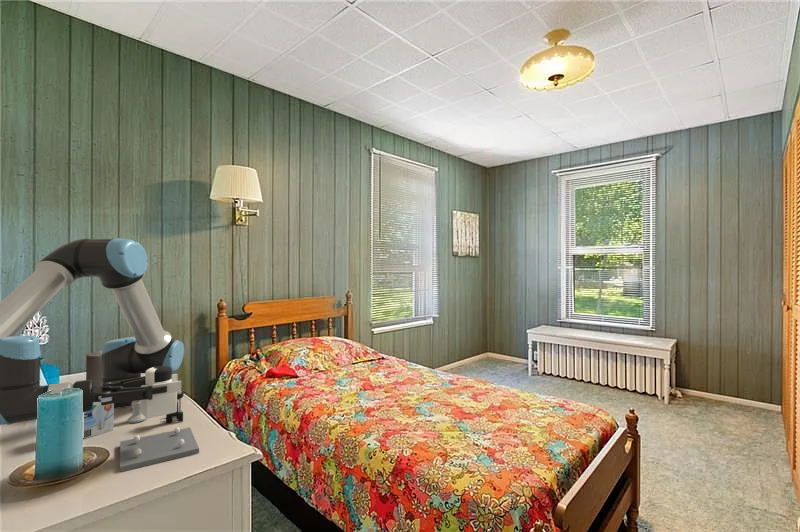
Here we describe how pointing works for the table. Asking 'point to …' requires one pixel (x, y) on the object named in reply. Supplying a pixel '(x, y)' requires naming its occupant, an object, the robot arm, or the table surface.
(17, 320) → the robot arm
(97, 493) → the table surface
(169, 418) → the push button
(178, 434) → the pin tray
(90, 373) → the pillar candle
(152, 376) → the medicine bottle
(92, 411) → the light bulb box
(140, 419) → the chess piece
